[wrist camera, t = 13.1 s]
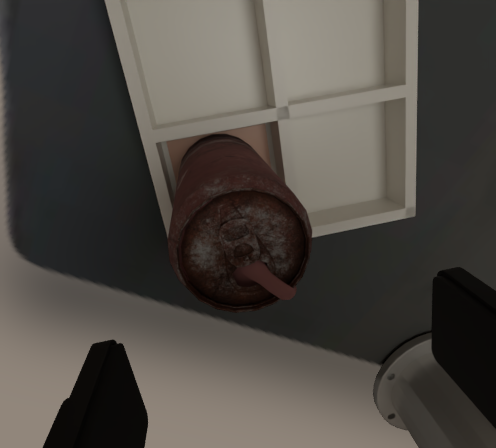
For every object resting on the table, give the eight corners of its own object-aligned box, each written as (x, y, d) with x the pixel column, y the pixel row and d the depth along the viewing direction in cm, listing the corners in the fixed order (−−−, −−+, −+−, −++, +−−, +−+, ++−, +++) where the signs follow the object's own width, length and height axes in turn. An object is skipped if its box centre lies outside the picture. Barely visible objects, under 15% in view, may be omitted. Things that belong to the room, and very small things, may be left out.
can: (233, 228, 29) (265, 345, 16) (163, 185, 27) (136, 278, 14) (279, 166, 28) (354, 238, 15) (209, 115, 26) (225, 147, 13)
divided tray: (392, 202, 31) (415, 216, 28) (177, 246, 30) (175, 265, 27) (389, -59, 24) (419, -81, 21) (109, -17, 23) (95, -33, 20)
